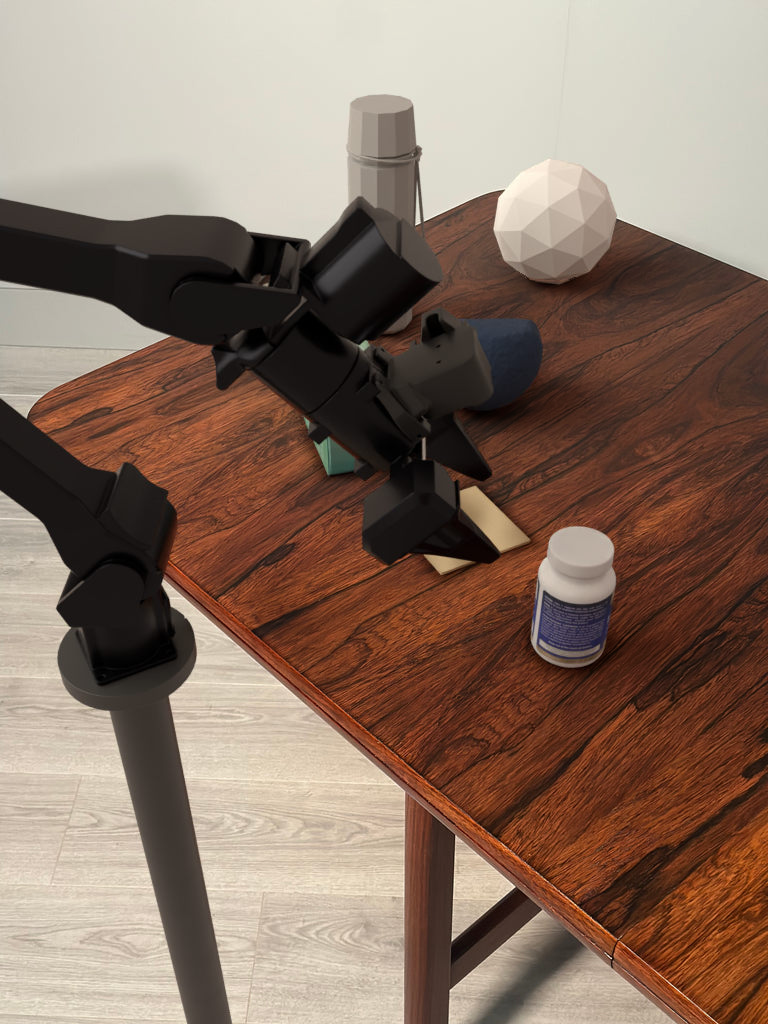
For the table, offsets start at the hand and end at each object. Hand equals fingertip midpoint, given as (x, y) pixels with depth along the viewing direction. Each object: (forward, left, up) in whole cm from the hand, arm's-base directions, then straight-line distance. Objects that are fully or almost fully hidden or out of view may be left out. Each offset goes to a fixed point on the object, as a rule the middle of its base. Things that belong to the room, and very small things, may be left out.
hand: (491, 516), depth 73 cm
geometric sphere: (+42, +51, -13) cm, 67 cm away
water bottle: (+19, +50, -13) cm, 55 cm away
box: (+4, +31, -13) cm, 33 cm away
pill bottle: (+6, -3, -13) cm, 14 cm away
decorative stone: (+19, +30, -13) cm, 37 cm away
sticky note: (+6, +13, -12) cm, 19 cm away
